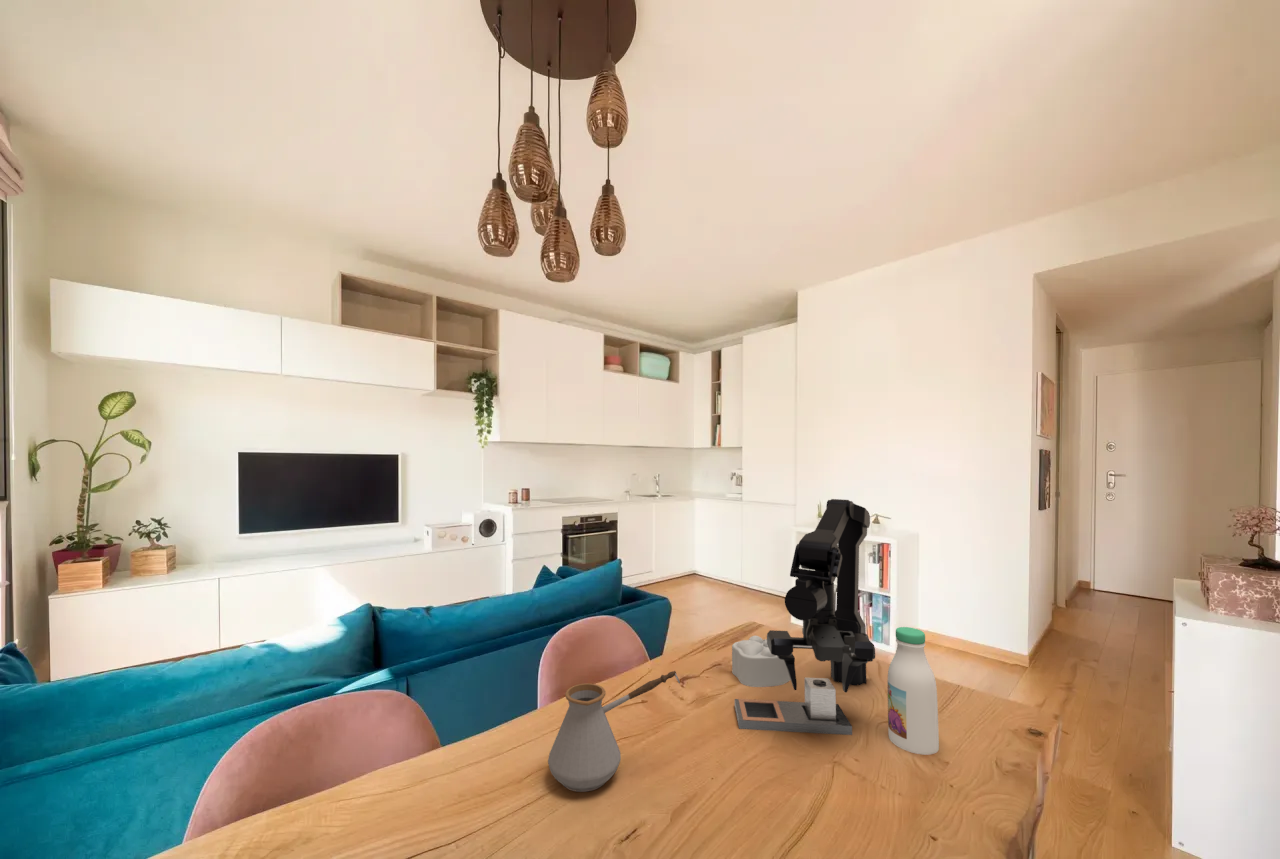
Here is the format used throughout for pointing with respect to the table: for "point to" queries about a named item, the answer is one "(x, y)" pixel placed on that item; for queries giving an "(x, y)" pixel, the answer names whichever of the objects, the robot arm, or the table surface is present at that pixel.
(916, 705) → the milk bottle
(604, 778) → the coffee pot
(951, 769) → the table surface
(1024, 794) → the table surface
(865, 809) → the table surface
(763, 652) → the lumpy-topped squat cylinder
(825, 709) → the block
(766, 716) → the grey flat block
